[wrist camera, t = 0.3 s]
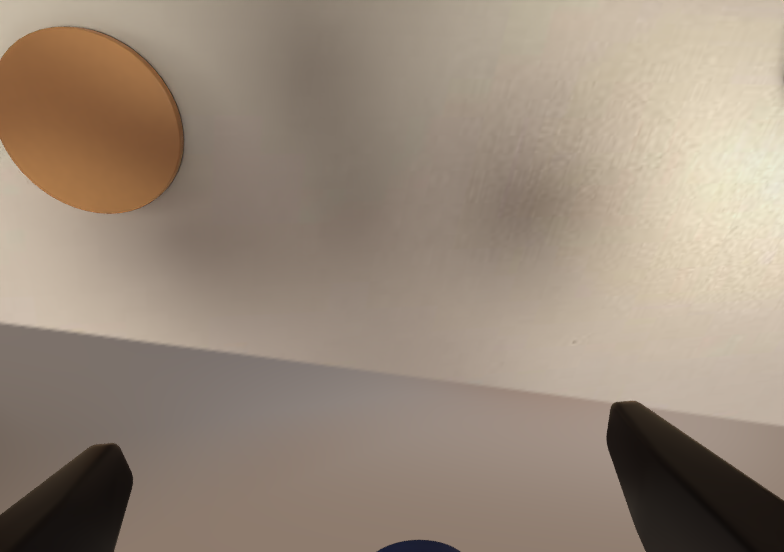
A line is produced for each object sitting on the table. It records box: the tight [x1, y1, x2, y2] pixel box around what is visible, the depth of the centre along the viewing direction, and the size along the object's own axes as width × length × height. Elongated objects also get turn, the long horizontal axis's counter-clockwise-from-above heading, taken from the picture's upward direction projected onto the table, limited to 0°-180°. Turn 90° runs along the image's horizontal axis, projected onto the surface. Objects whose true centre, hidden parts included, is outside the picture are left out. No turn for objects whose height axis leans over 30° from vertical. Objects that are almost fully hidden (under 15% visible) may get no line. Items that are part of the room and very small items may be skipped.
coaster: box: [0, 27, 184, 214], centre depth 18 cm, size 6×6×1 cm
